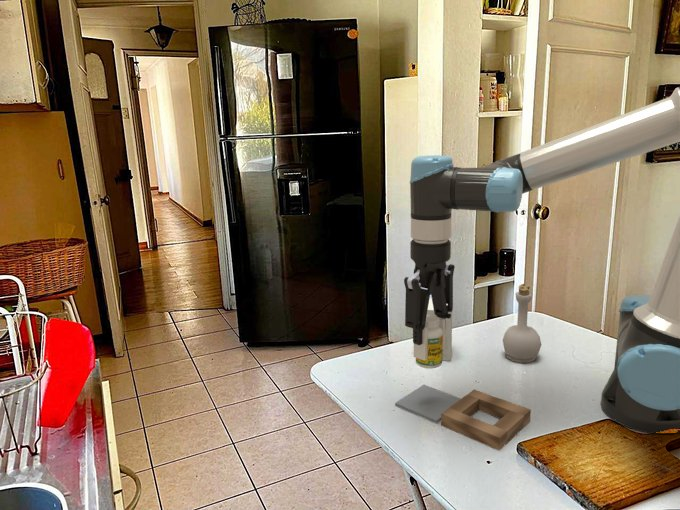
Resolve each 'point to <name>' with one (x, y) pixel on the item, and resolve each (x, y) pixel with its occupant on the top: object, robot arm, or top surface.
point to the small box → (448, 333)
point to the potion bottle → (522, 332)
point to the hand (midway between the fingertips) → (429, 352)
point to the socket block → (488, 434)
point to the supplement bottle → (433, 344)
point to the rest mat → (427, 402)
